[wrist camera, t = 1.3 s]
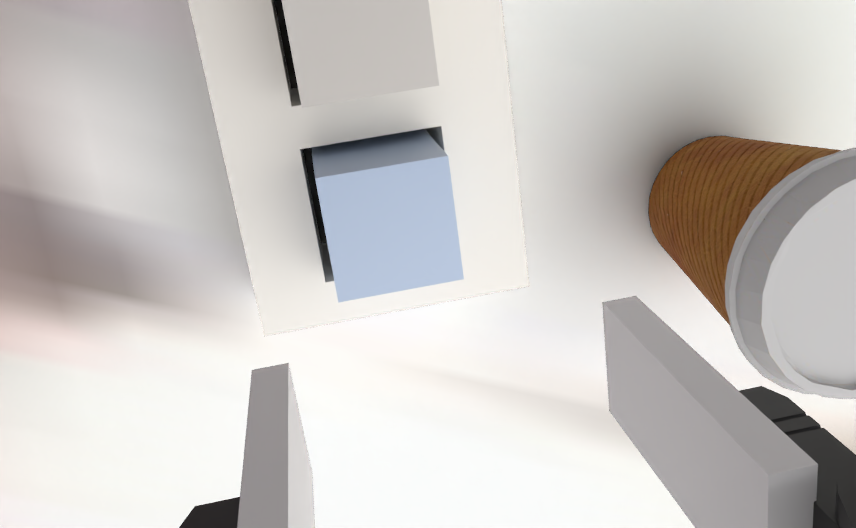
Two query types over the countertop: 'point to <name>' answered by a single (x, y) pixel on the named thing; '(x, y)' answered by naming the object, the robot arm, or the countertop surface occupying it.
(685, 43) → the countertop surface
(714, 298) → the disposable coffee cup
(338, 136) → the keypad base
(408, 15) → the key grey
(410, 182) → the key blue
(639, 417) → the robot arm
